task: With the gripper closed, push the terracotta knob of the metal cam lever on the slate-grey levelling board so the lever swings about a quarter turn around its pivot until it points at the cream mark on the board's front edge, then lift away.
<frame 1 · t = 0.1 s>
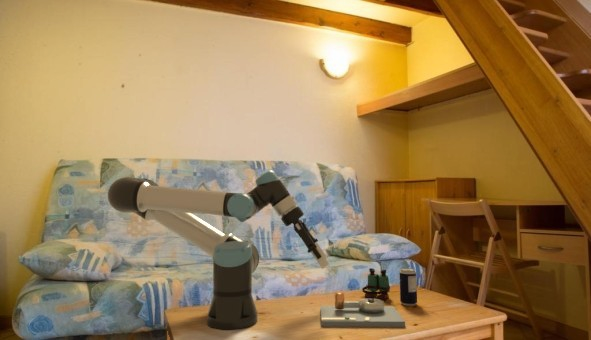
hand: (325, 262, 130), 15 cm above the table, tool tilted 35°, fingers open, 13 cm apart
binoculars: (376, 299, 141), on the table
level board: (359, 318, 119), on the table
beverage can: (408, 304, 134), on the table
cam lever: (359, 301, 122), point 4 cm above the table, hinge at 180.0°
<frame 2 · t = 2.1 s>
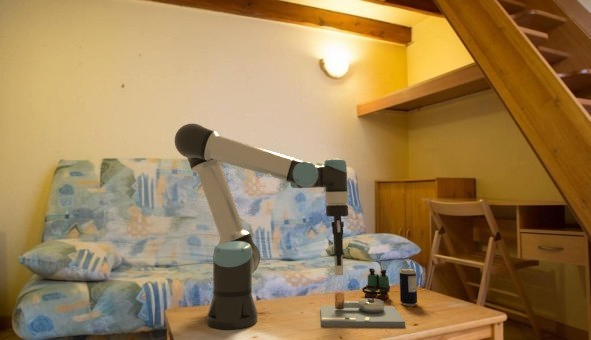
hand: (339, 274, 129), 11 cm above the table, tool pointing down, fingers closed
nothing on the table moved.
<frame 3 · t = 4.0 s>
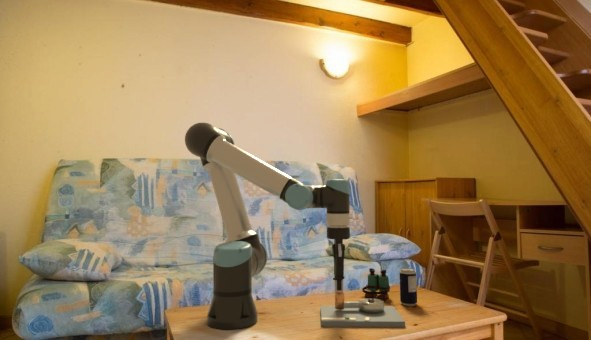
hand: (339, 299, 124), 4 cm above the table, tool pointing down, fingers closed
cam lever: (359, 301, 122), point 4 cm above the table, hinge at 182.4°, touching gripper
everything else where it was.
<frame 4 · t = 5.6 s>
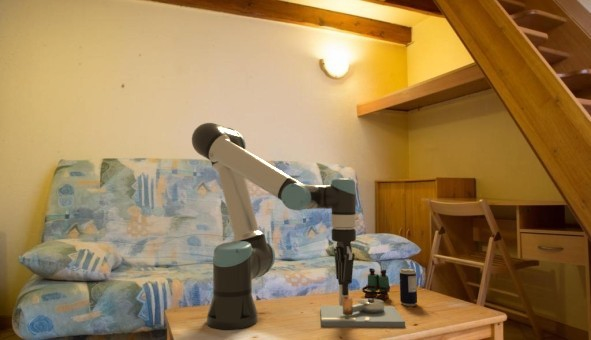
hand: (343, 305, 118), 4 cm above the table, tool pointing down, fingers closed
cam lever: (362, 303, 120), point 4 cm above the table, hinge at 217.0°, touching gripper
everything else where it was.
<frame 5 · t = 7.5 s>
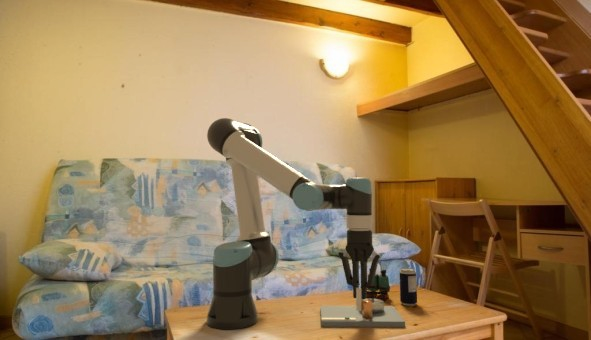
hand: (360, 309, 113), 4 cm above the table, tool pointing down, fingers closed
cam lever: (369, 304, 118), point 4 cm above the table, hinge at 255.0°, touching gripper
everything else where it was.
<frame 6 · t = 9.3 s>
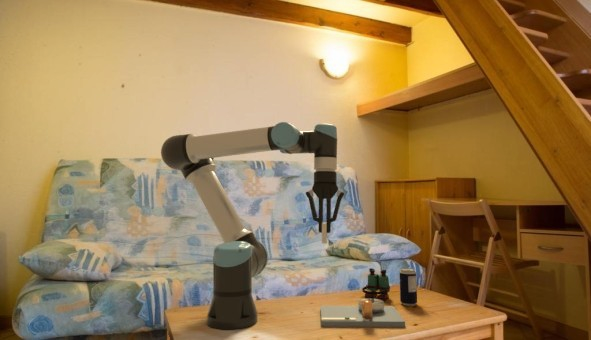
hand: (324, 242, 125), 23 cm above the table, tool pointing down, fingers closed
cam lever: (369, 304, 118), point 4 cm above the table, hinge at 255.0°
everything else where it was.
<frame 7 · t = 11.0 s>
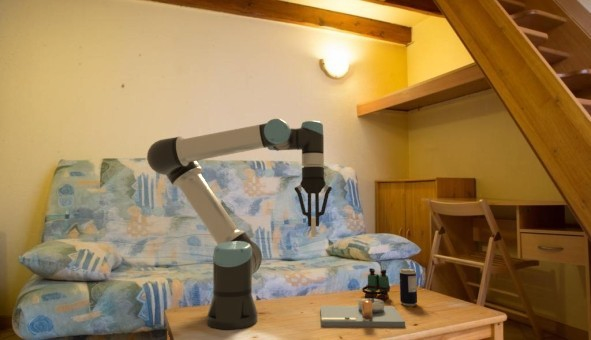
hand: (313, 236, 129), 24 cm above the table, tool pointing down, fingers closed
nothing on the table moved.
at the end: cam lever at +255° (first picture: +180°) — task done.
